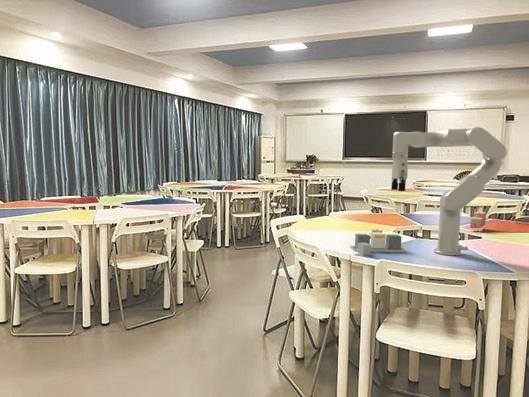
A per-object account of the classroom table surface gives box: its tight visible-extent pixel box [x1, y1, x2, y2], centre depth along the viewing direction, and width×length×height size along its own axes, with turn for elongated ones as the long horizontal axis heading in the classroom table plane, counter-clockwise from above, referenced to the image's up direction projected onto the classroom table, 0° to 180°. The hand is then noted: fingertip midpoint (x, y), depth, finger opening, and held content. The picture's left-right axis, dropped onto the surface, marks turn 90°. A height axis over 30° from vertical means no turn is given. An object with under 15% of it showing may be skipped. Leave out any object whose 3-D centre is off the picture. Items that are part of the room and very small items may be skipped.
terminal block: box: [356, 243, 372, 256], centre depth 206 cm, size 4×6×5 cm, turn 14°
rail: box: [349, 233, 407, 253], centre depth 217 cm, size 26×9×8 cm, turn 93°
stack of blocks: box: [469, 211, 487, 229], centre depth 296 cm, size 21×6×12 cm, turn 145°
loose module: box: [370, 231, 387, 248], centre depth 217 cm, size 6×5×7 cm
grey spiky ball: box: [368, 228, 383, 240], centre depth 234 cm, size 9×8×10 cm
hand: (398, 190), depth 218 cm, fingers open, 9 cm apart
